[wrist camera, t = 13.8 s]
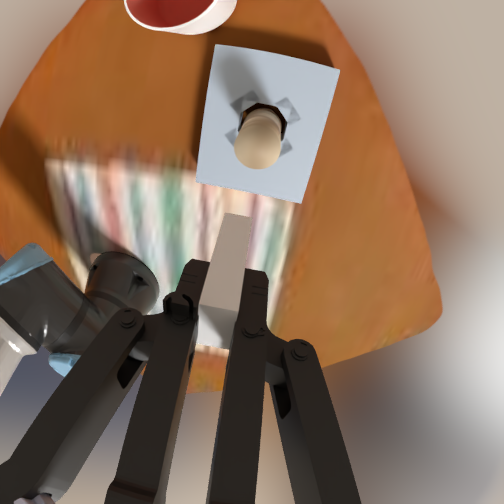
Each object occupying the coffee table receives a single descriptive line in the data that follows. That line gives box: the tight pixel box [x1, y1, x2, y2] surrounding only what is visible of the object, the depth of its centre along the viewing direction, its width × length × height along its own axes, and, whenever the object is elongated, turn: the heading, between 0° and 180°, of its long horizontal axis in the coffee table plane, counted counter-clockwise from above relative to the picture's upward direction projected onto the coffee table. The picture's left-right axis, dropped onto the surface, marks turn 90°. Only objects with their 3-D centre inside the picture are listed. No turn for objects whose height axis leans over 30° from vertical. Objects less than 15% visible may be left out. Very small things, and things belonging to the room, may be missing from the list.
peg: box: [234, 108, 281, 169], centre depth 30 cm, size 4×4×12 cm
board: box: [196, 44, 340, 204], centre depth 33 cm, size 14×18×4 cm
